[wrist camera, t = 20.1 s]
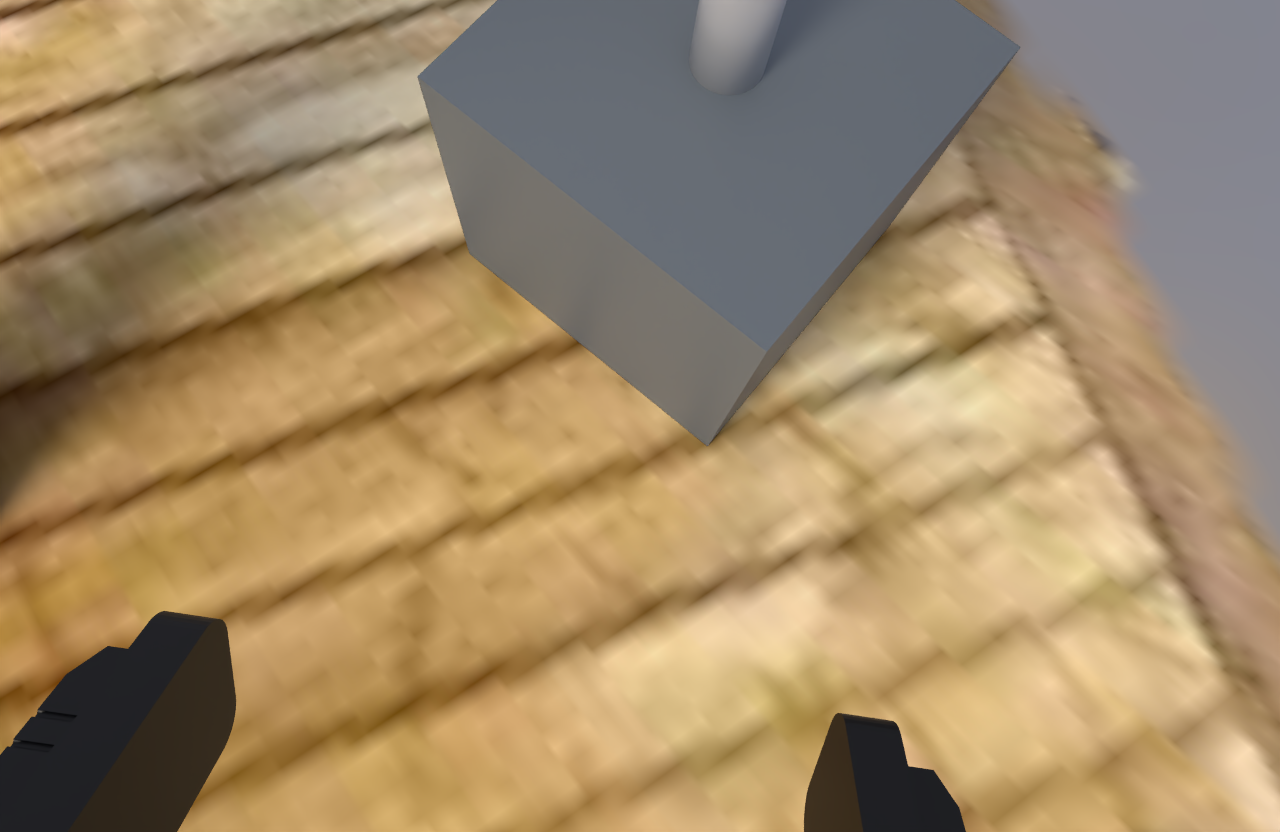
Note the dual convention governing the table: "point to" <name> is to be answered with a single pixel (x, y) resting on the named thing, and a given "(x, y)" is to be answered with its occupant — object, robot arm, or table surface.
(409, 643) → the table surface
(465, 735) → the table surface
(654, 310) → the cover
